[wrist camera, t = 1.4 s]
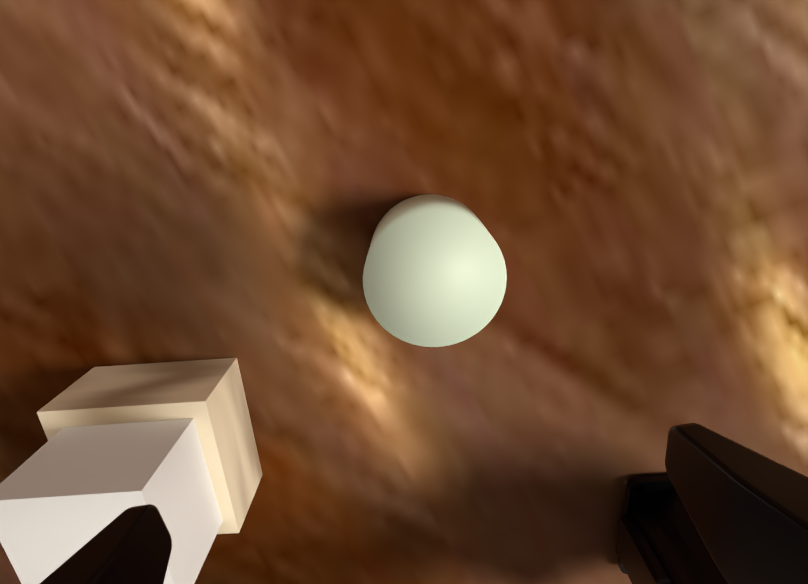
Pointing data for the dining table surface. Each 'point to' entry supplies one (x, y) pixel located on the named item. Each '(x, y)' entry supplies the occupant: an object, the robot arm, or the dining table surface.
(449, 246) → the pale green rounded cylinder
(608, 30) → the dining table surface
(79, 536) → the top block
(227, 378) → the base block
